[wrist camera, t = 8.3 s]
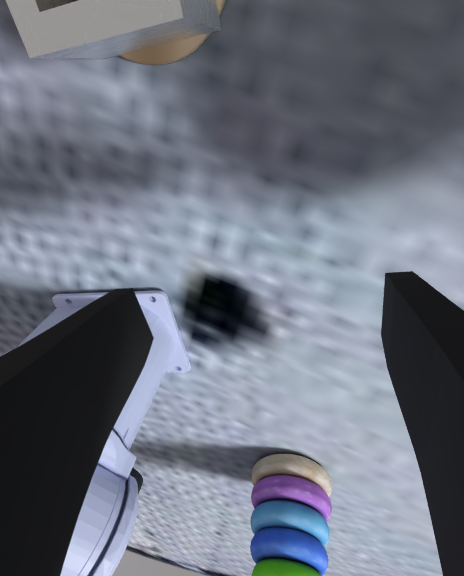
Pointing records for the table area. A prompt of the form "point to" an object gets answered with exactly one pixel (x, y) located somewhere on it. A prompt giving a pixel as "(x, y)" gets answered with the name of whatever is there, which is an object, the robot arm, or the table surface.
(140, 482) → the wine bottle
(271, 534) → the stacking toy
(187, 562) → the table surface
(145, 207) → the table surface
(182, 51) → the post stand
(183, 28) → the collar
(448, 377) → the robot arm
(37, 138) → the table surface
